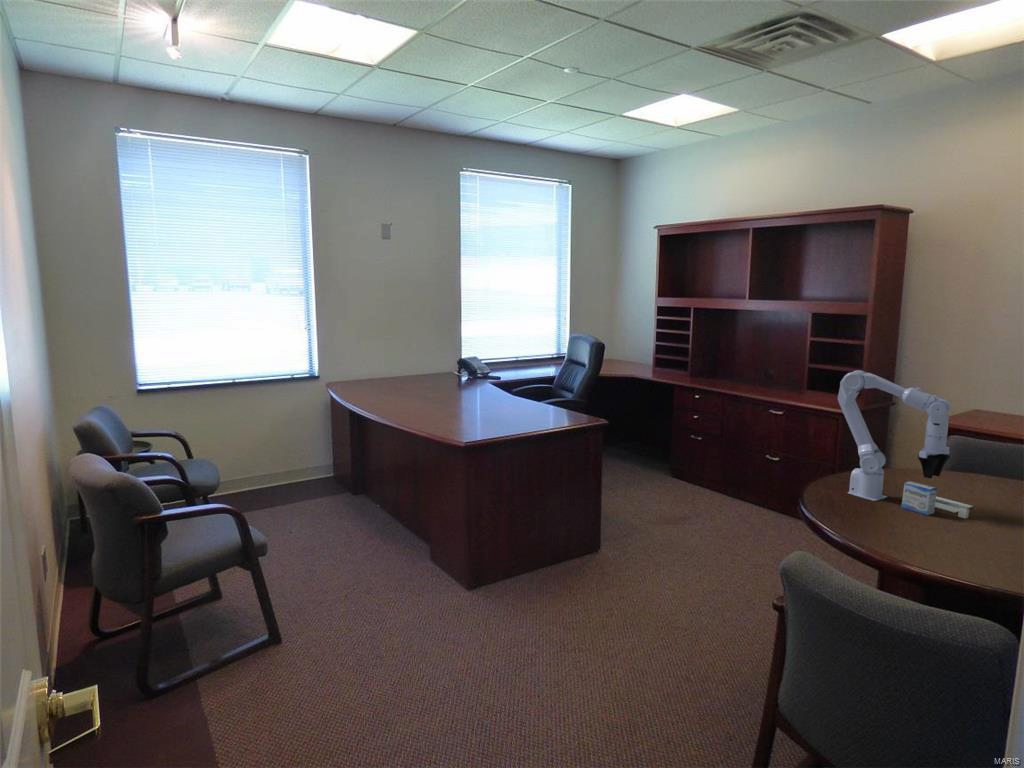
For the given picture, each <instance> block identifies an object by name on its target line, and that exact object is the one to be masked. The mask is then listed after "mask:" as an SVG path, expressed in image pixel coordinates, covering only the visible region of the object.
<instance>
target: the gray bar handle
mask: <svg viewBox="0 0 1024 768" xmlns="http://www.w3.org/2000/svg"><path fill="white" fill-rule="evenodd" d="M969 514H970V509H968V510H963V509H959V511H958V512H957V517H959V518H963V519H968V518H969Z"/></svg>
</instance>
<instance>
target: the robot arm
mask: <svg viewBox="0 0 1024 768" xmlns="http://www.w3.org/2000/svg"><path fill="white" fill-rule="evenodd" d="M863 389H878V390H880V391H882V392H886V393H889V394H891V395H894V396H896V397H899V398H901V400H902V403H903V404H905V405H908V406H910V407H912V408H915V409H917V410H920V411H922V412H926V413H927V414H928V415H927V421H926V427H925V435H924V436H925V437H924V446H923V448H922V449H921V450H920V451H919V452H918V453H919V454H918V455H917V458H918V461H919V463H920V465H921V469H922V474H923V478H926V479H932V478H933V476H934V477H940V475H941V473H942V471H943V469H944V467H945V465H946V463H947V461H948V460H949V459H951V458H950V457H951V456H950V455H949V454H950V447H949V446H947V440H948V433H949V432H948V430H949V419H950V418H949V414H950V412H951V410H952V405H951V403H950V401H949V400H947V399H945V398H944V397H938V395H937V394H933V395H931V394H930V393H927V392H925V391H923V390H922V388H920V387H916V388H915V387H909V388H905V387H903V386H901V385H898V384H896V383H893V382H891V381H890V380H888V379H886V378H883V377H881V376H878V375H876V374H873V373H871V372H866V371H864V370H860V369H858V370H857V369H856V370H854V371H852V372H848V373H846V374H845V375H844V376H843V378H842V379H841V380H840V382H839V390H838V395H837V401H838V404H839V407H840V409H841V411H842V413H843V416H844V418H845V420H846V423H847V425H848V427H849V430H850V431H851V435H852V436H853V439H854V441H855V443H856V446H857V452H858V456H859V467H860V468H859V467H857V468H856V467H855V468H854V469H853V470H852V471H851V473H850V477H849V478H850V479H849V490H848V491H847V494H850V495H852V496H855V497H857V498H858V497H859V498H862V499H865V500H870V501H872V502H876V501H880V500H884V499H887V498H888V495H884V494H883V486H884V477H885V470H884V469H883V467H884V466H885V464H886V462H887V459H886V456H885V454H884V453H883V452H882V451H881V450H880V449H879V447H878V446H877V444H876V443H875V442H874V439H873V437H872V435H871V434H870V433H871V432H870V430H869V428H868V425H867V424H866V421H865V419H864V417H863V414H862V412H861V410H860V407H859V405H858V403H857V399H856V398H857V397H858V395H859V394H860V392H861V391H862V390H863Z"/></svg>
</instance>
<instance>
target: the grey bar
mask: <svg viewBox="0 0 1024 768" xmlns="http://www.w3.org/2000/svg"><path fill="white" fill-rule="evenodd" d="M935 502H937V503H941V504H944V505H948V506H952V507H955V508H959V509H963V510H970V508H969V507H967V506H963V505H960V504H956V503H952V502H948V501H944V500H941V499H937V498H936V501H935Z"/></svg>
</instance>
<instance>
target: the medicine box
mask: <svg viewBox="0 0 1024 768" xmlns="http://www.w3.org/2000/svg"><path fill="white" fill-rule="evenodd" d="M937 491H938V487H935V486H931V485H927V484H923V483H919V482H914V481H906V482H904V484H903V492H902V500H901V501H902V502H901V508H902V509H903V510H907V511H909V512H914V513H916V514H921V515H925V516H931V515H932V514H935V509H936V508H935V501H936V496H937Z"/></svg>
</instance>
